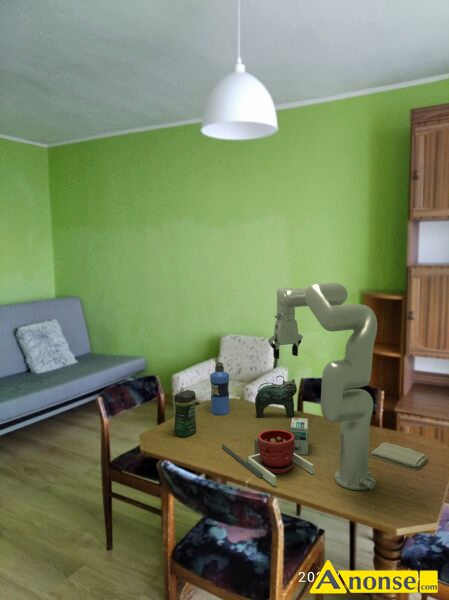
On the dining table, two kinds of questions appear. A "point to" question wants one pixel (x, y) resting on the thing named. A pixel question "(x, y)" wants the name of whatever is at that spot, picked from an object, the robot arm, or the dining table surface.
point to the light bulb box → (300, 435)
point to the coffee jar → (185, 413)
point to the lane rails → (243, 461)
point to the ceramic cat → (276, 397)
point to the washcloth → (399, 455)
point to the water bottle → (219, 391)
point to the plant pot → (276, 450)
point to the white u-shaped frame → (266, 474)
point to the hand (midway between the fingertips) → (285, 356)
